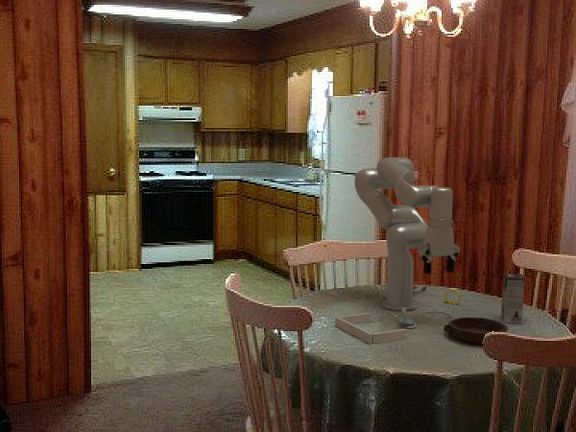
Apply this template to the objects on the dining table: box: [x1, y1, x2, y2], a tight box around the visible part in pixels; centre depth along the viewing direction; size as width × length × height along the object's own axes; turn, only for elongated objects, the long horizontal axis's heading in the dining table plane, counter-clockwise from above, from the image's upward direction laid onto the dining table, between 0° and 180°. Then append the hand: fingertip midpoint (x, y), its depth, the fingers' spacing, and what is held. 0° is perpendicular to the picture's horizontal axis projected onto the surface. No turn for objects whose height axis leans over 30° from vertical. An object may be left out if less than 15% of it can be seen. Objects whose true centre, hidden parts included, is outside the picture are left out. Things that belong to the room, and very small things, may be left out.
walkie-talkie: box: [413, 285, 428, 296], centre depth 271 cm, size 9×4×20 cm
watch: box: [444, 287, 462, 305], centre depth 254 cm, size 6×3×6 cm, turn 62°
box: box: [334, 312, 408, 345], centre depth 215 cm, size 22×14×3 cm, turn 26°
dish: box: [443, 316, 509, 345], centre depth 209 cm, size 18×22×5 cm
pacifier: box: [397, 308, 417, 329], centre depth 222 cm, size 7×6×6 cm
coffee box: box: [500, 272, 525, 325], centre depth 231 cm, size 9×6×16 cm
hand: (438, 272), depth 226 cm, fingers open, 9 cm apart
